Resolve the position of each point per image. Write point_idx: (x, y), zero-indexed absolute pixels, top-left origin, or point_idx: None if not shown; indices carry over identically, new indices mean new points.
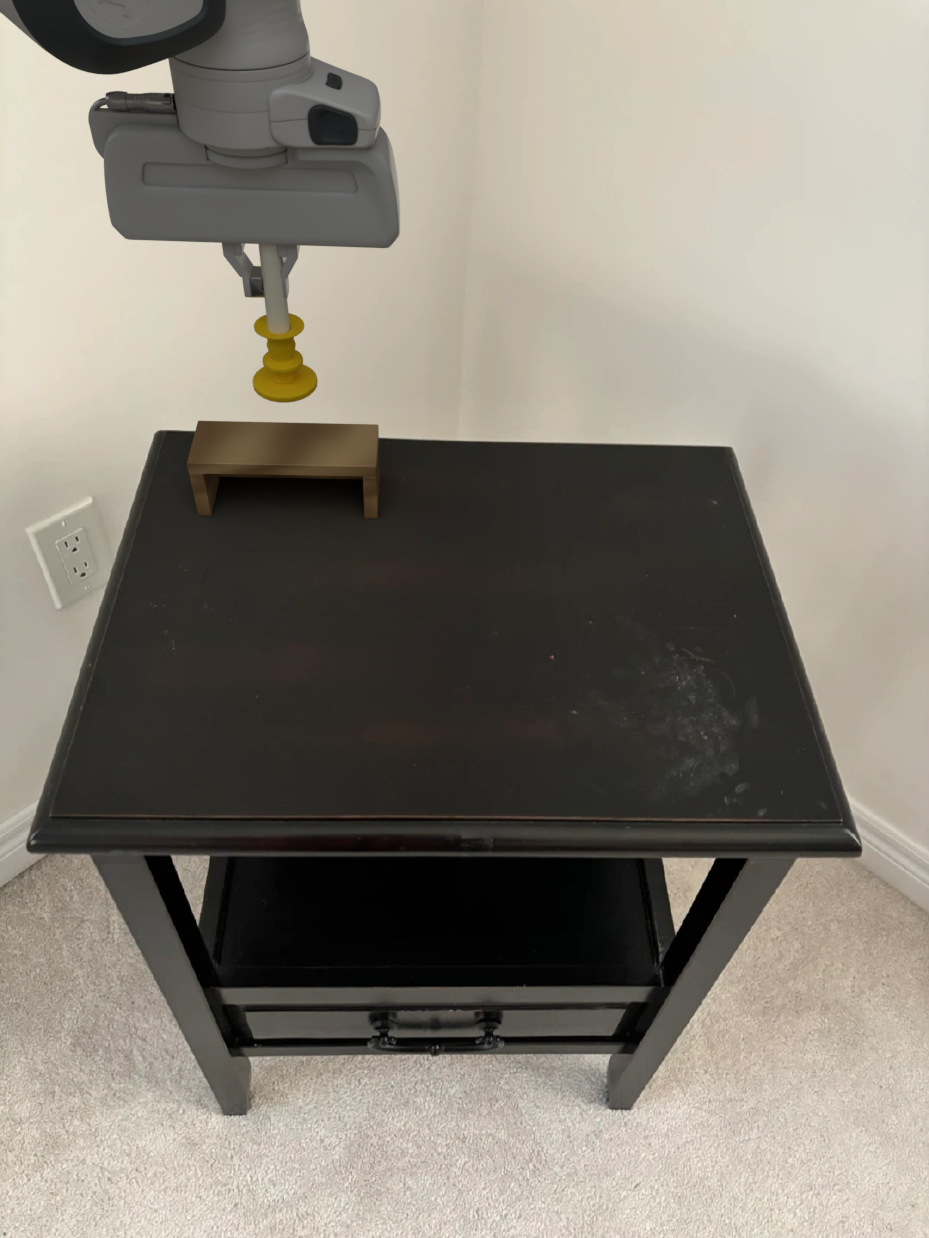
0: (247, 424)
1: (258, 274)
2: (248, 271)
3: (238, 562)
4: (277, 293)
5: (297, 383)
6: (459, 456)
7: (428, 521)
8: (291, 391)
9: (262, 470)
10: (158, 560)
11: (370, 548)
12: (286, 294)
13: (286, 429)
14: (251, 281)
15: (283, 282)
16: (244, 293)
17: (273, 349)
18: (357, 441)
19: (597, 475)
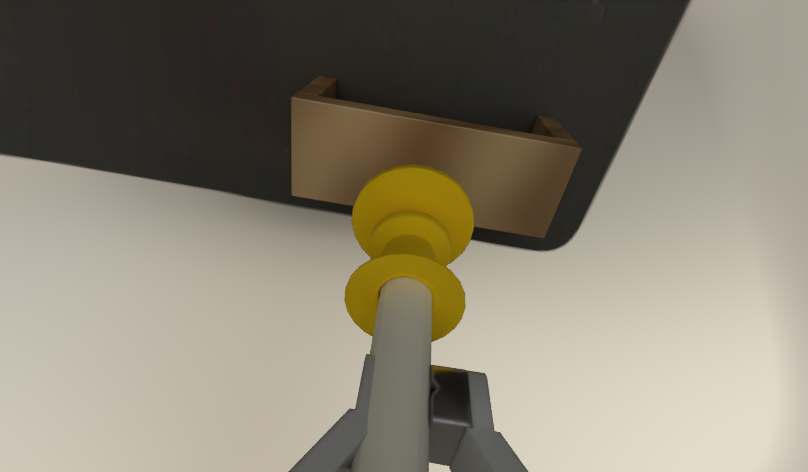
0: (477, 220)
1: (439, 435)
2: (471, 449)
3: (518, 7)
4: (389, 366)
5: (389, 207)
6: (219, 181)
7: (250, 60)
8: (402, 185)
9: (468, 124)
10: (628, 30)
11: (329, 11)
12: (364, 363)
13: None
14: (465, 413)
15: (364, 398)
16: (487, 381)
17: (426, 254)
18: (321, 162)
19: (37, 121)
